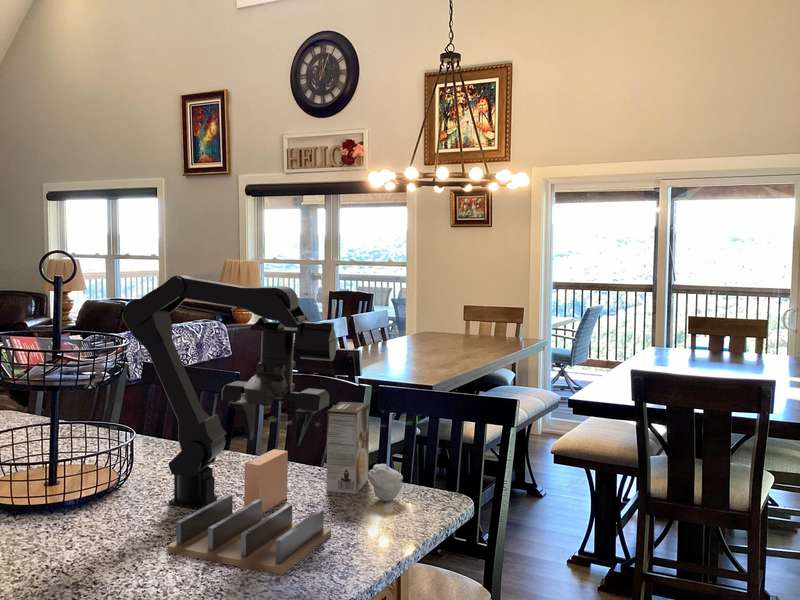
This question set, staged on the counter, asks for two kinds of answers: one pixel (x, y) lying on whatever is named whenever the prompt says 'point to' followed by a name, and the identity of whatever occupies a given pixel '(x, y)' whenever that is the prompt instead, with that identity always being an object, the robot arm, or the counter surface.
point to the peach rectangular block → (266, 479)
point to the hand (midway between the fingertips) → (273, 442)
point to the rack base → (257, 560)
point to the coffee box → (347, 447)
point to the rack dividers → (231, 525)
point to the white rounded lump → (385, 482)
